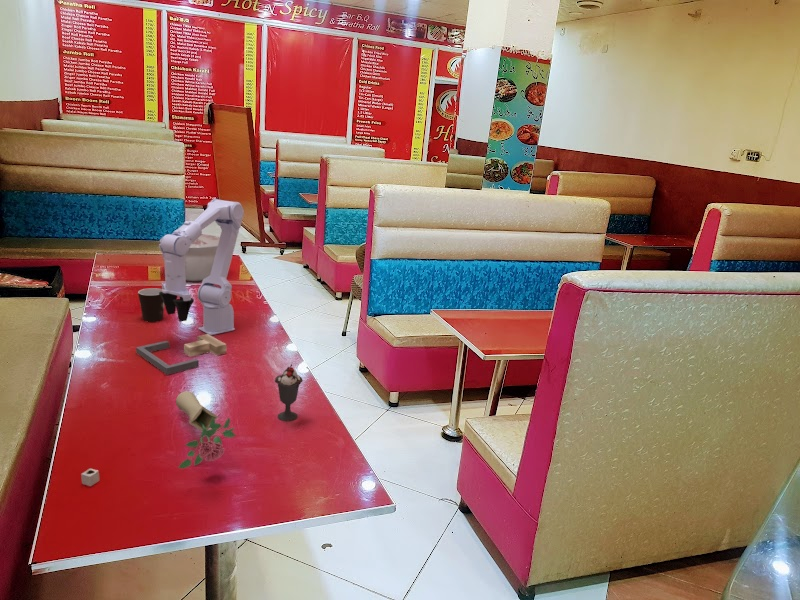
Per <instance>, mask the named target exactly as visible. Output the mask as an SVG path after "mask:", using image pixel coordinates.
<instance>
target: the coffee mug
mask: <svg viewBox="0 0 800 600" xmlns="http://www.w3.org/2000/svg"><path fill="white" fill-rule="evenodd" d="M162 290H163V289H162V288H156V287H155V288H153V287H151V288H143V289H140V290H138V291H137V294H138V299H139V305H140V309H141V316H142V320H144V321H143V322H145V321H148V322H147V323H157V321H159V322H161V321H162V319H163V320H164V311H165V304H164V302H163V300H162V298H161V296H160V295H159V292H162Z"/></svg>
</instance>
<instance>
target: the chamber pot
mask: <svg viewBox="0 0 800 600" xmlns="http://www.w3.org/2000/svg"><path fill="white" fill-rule="evenodd" d="M161 239H162V237H161V238H160V239H159V243H160V241H161ZM219 239H220V237H219V236H216V235H211V234H205V233H204V234H201V236H200V237H199V238H197V239H196V240H195V241H194V242H193V243H191V246H190V247H189V250H188V252H187V254H185V274H186V282H202V281H203V279H205V278H206V277H208V276H210V274H211V270H212V266H213V262H214V259H215V255H216V251H217V247H218V243H219Z"/></svg>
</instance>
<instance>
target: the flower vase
mask: <svg viewBox="0 0 800 600" xmlns="http://www.w3.org/2000/svg"><path fill="white" fill-rule="evenodd" d="M175 405H176V407H177V408H178V409H179V410H180V411H183V413H185V414H187V415H188V417H189V418H188V423H189V425H191V426H193V427H195V429H197V430H199V431H200V432H201V434H200V437H199V438H200V440H199V442H198V440H197V439H196V440H191V441H189V442H186V443H185V446H187V447H189V448H195V449H194V450H193V449H191V450H189V452H188V453H187V455H186V457H191V459H189V458H187V459H185V460H184V461H182V462H181V463H180V464H179V466H178V469H186V468H189V467H191V466H192V460H193V457H194V456H195V453H196V451H198V453H197V455H196V457H195V460H194V467H195V466H197V465H199V464H200V463H201V462H202V461H203V460H204V461H206V462H214V461H216V460H218V459H220V458H222V456H223V455H224V454H225V452H224V451H225V449H226V448H225V447H224V444H222V440H221V439H222V438H221V437H220V436H216V434H217V432H219V433H221V434H222V435H223V438H235V437H236V434H235V433H234V432H233V430H234V429H235V428H236V427H232V428H230V429H227V428H229V426H230V423H231V421H230V417H228V418H227V419H226V421H225V422H224V425H223V426H222V424H221V423H219V422H218V423H216V421H217V419H218V418H219V416H218V415H217V414H216V413H213V412H212V411H210V410H209V409H208V408H206V407H205V406H203V405H202V404H201V403H200V401H199V399H198V398H197V396H196V394H195V393H194V392H192V391H190V390H189V391H188V390H186V391H182V392H181V393H179V394H178V395H177V397H176V399H175ZM222 429H225V430H224V431H222ZM205 436H206V438H207V441H205V439H204V438H205ZM212 436H214V438H213V439H212V440H210V438H211V437H212ZM200 444H201V445H200ZM198 447H199V449H197V448H198Z"/></svg>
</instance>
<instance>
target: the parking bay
mask: <svg viewBox="0 0 800 600" xmlns="http://www.w3.org/2000/svg"><path fill="white" fill-rule="evenodd" d="M166 348H168V349H170V341H168V340H164V341H163V340H162V341H158V342H155V343H154V342H153V343H149V344H146V345H141V346H136V347H135V351H136V352H135V353H137V354H136V355H138V354H139V355H140V356H139V355H138V356H139V357H141V356H142V357H143V358H144V359H143V358H142V357H141V358H142V359H143V360H145V359H146V360H147V362H148V361H149V362H150V363H151V365H152V364H153V365H154V367H155V368H156V367H157V368H156V369H158V370H159V369H160V370H161V372H162V373H163V372H164V373H163V374H165V375H166V376H168V375H173V374H175V373H176V372H177V373H180V372H184V371H188V370H192V369H196V368H198V367H200V366H199V363H200V362H199V359H197V358H193V359H189V360H185V361H181V362H177V363H173V364H170V365H169V363H167V362H165V361H164V360H162V359H161V358H159V357H158V356H156V355H155V354H153V352H151V351H155V352H158V351H157V350H159V351H163V350H167V349H166ZM162 349H163V350H162ZM146 360H145V361H146ZM149 362H148V363H149ZM150 363H149V364H150ZM153 365H152V366H153ZM160 370H159V371H160Z"/></svg>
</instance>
